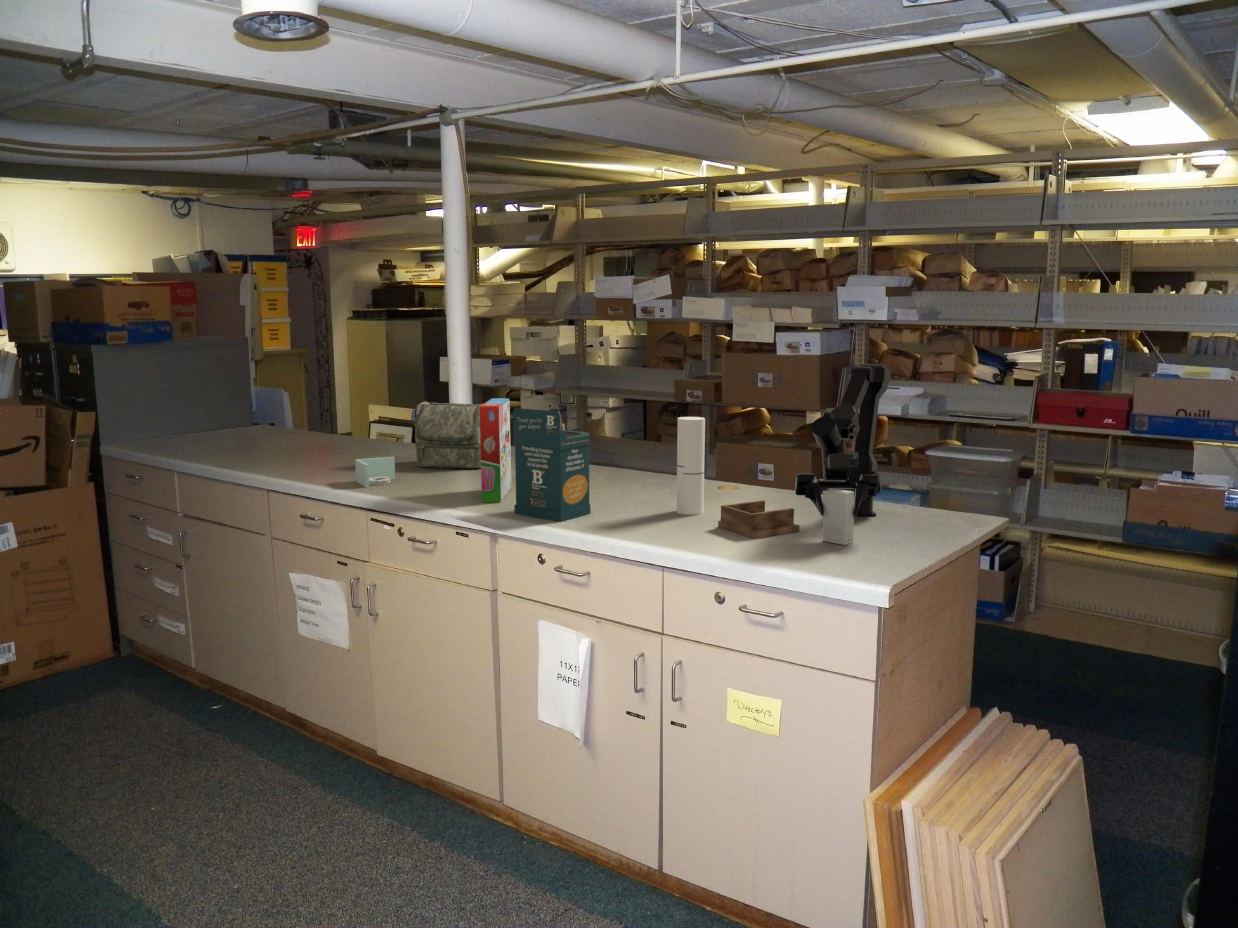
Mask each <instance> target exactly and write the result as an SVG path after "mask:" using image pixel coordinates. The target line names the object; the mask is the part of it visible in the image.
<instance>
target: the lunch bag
mask: <svg viewBox="0 0 1238 928" xmlns="http://www.w3.org/2000/svg"><path fill="white" fill-rule="evenodd" d="M482 404H483V403H481V404H480V403H477V404H472V403H471V404H469V403H455V402H449V403H447V402H445V403H439V402H434V401H433V402H428V401H426V400H425V401H422V402H420V403H419V404H416V405H415V409H412V410H411V411H412V412H411V417H410V418H411V419H410V421H411V422H412V421H414V422H415V423H414V426H415V427H414V440H415V442H414V443H415V444H414V445H415V451H416V452H415V453H416V462H417V463H416V466H417V467H419V468H434V469H437V468H438V469H461V470H464V469H468V470H469V469H471V470H472V469H475V470H476V469H478V470H479V469H481V447H480V408H479V407H480V406H481V405H482Z"/></svg>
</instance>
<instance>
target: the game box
mask: <svg viewBox="0 0 1238 928" xmlns="http://www.w3.org/2000/svg"><path fill="white" fill-rule="evenodd" d="M481 404H482V405H481V406H480V407H479V408H480V447H481V468H480V476H481V478H480V479H481V480H480V481H481V484H480V485H481V503H492V504H493V503H497V504H498V503H501V502H502V501H503V500H504V498H505V497H506V496H507V494H508V493H509V491H510V490H511V488H512V457H511V456H512V454H511V453H512V451H511V450H512V448H511V446H512V445H511V411H510V410H511V408H510V398H503V397H501V398H496V397H495V398H493V397H492V398H490V399H489V400H487V401H486V402H484V403H481Z"/></svg>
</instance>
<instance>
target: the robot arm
mask: <svg viewBox="0 0 1238 928" xmlns="http://www.w3.org/2000/svg"><path fill="white" fill-rule="evenodd" d="M891 378H892V372H891V369H890V368H888V367H887V364H881V363H880V364H877V363H876V364H875V363H862V364H860V365H859V366H857V365H856V366H854V367H851V370H850V378H849V381H848V382H847V386H846V387H845V390H844V393H843V395H842V398H841V401H840V403H839V405H838V406H836V407H835V408H834V409H832V410H831V411H830V412H829V413H828V412H824V413H823V415H822V416H820V417H818V418H816V419H815V420H814V421H813V422H812V423H811V425H810V426H811V427H810V430H811V433H812V435H813V437H814V439H815V442H816V443H817V445H818V447H819V448H820V449H821V459H822V462H821V463H822V472H823V473H822V474H823V475H822V476H823V478H819V477H816V476H815V474H814V473H813V472H812V473H810V472H809V473H807V472H799V473H798V474H797V475H796V478H795V483H794V485H795V486H794V491H795V493H794V494H795V495H796V496H804V497H805V499H809V500H810V501H811V502H812V503H813V504H814V506H815V508H816V509H817V511H818V513H819V514H820V516H821V517H823V515H824V509H823V496H822V493H821V489H827V490H828V489H839V490H846V491H853V492H854V517H858V516H863V517H864V516H867V517H868V516H869V517H870V516H872V517H873V516H875V517H876V516H877V513H876V512H875V511H874V497H876V496H877V493H882V488H883V487H882V486H883V485H882V484H883V483H882V479H881V476H880V474H879V473H880V472H879V471H878V463H877V461H876V459H875V456H874V454H873V453H874V445H875V439H876V438H875V436H876V429H877V422H878V412H879V404H880V399H881V398H882V396H883V395H884V394H885V393H886V392H887V390H888V386H889V383H890V381H891ZM854 439H855V442H854V451H852V452H850V453H847V445H846V441H847V440H848V441H851V440H853V441H854ZM845 440H846V441H845Z"/></svg>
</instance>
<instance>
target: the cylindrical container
mask: <svg viewBox="0 0 1238 928" xmlns="http://www.w3.org/2000/svg"><path fill="white" fill-rule="evenodd" d="M676 432H677V439H676V441H677V442H676V444H677V445H676V446H677V447H676V449H677V451H676V453H677V454H676V459H677V460H676V513H677V514H680V515H684V516H695V515H696V516H697V515H701V514H702V515H703V514H704V513H705V512H704V510H705V507H704V506H705V499H704V498H705V454H706V453H705V451H706V450H705V449H706V448H705V442H706V441H705V439H706V434H705V433H706V418H705V417H701V416H680V417H677V431H676Z"/></svg>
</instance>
